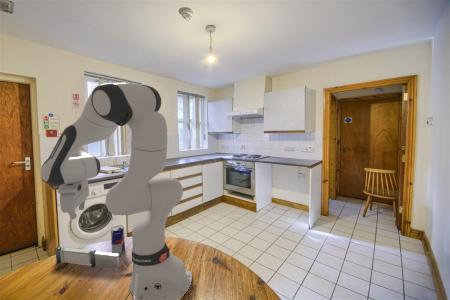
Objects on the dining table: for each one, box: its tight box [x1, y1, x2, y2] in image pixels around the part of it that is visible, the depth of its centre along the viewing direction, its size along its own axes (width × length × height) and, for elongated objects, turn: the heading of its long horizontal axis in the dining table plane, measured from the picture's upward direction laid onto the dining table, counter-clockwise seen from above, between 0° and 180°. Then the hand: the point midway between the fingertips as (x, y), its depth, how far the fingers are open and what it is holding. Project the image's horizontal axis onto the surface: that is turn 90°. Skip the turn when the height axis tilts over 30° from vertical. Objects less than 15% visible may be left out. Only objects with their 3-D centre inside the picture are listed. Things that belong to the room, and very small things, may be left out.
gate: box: [60, 247, 93, 266], centre depth 86 cm, size 13×2×5 cm, turn 81°
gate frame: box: [54, 246, 120, 271], centre depth 85 cm, size 29×2×6 cm, turn 81°
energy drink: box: [110, 224, 126, 256], centre depth 94 cm, size 5×5×12 cm
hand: (77, 213), depth 90 cm, fingers open, 8 cm apart
